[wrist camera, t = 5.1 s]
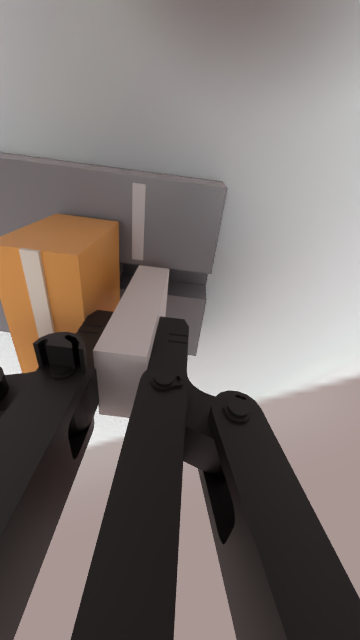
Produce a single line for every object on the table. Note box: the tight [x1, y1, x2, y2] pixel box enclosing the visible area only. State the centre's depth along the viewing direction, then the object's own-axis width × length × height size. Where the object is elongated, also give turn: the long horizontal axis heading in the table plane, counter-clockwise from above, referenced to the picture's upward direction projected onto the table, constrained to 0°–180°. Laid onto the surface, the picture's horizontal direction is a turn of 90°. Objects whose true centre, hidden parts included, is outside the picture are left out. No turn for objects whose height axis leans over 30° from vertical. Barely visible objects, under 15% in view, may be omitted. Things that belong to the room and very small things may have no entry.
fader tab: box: [0, 213, 123, 373], centre depth 13 cm, size 6×3×7 cm, turn 174°
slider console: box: [0, 153, 227, 356], centre depth 16 cm, size 10×24×3 cm, turn 84°
